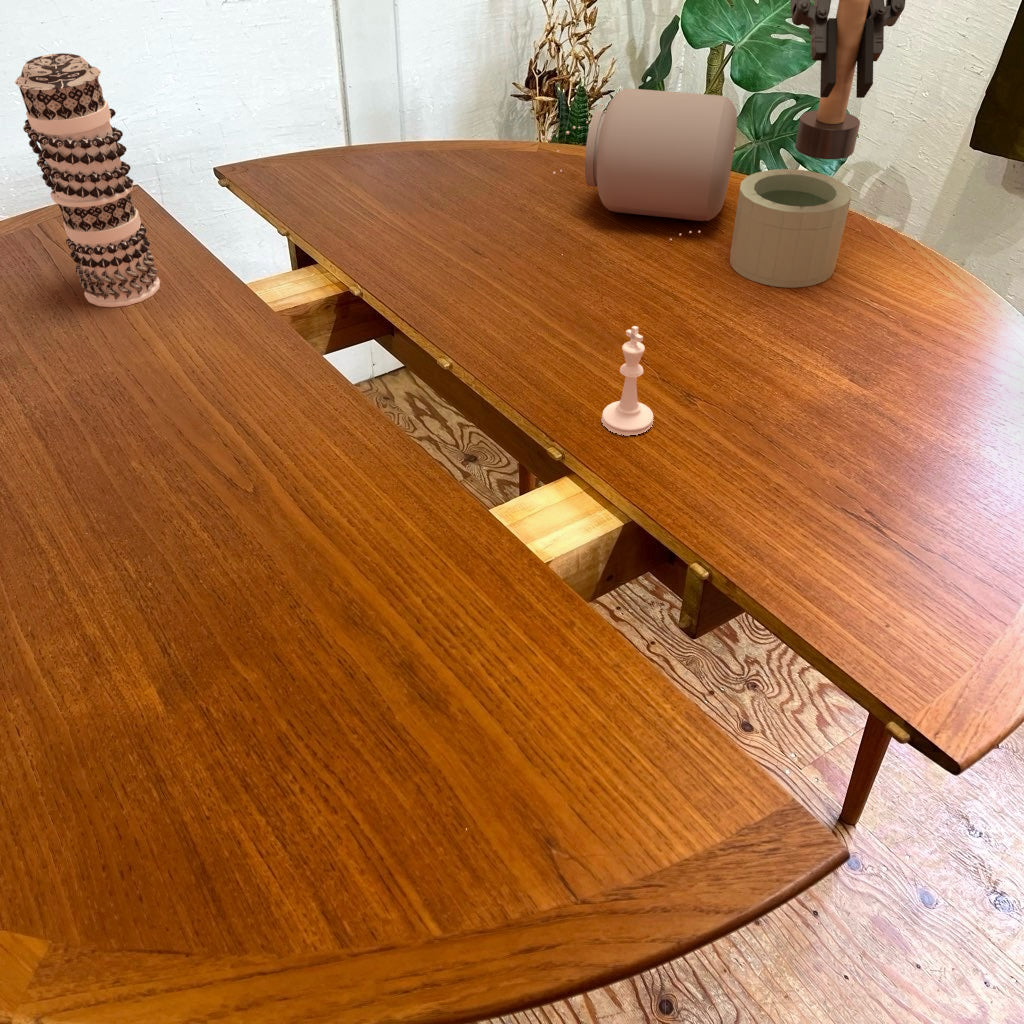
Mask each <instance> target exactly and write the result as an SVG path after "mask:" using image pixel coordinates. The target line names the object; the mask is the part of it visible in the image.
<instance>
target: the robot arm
mask: <svg viewBox="0 0 1024 1024" xmlns="http://www.w3.org/2000/svg"><path fill="white" fill-rule="evenodd" d="M831 5H832V0H813V5H812V4H811V0H790V13H791V22H792V24H793V25H794V26H797V27H798V26H802V25H803V26H805V27H807V28H808V29H807V30H808V33H809V36H810V58H811V60H812V61H815V62H818V61H819V62H820V83H819V84H820V89H819V91H820V92H819V93H820V94H819V98H820V97H828V96H829V95H830V93H831V91H832V89H833V87H834V86H835V84H836V39H837V18H836V17H829V15H830V11H831ZM905 7H906V0H870V2H869V7H868V12H867V16H866V21H865V26H864V30H863V35H862V40H861V44H860V49H859V54H858V58H857V63H856V92H855V93H856V96H855V97H856V99H865V97H866V96H867V94H868V92H869V91H870V90H871V88H872V86H873V85H874V62H877V61H878V60H879V58H880V57H881V55H882V53H883V51H884V46H885V45H884V44H885V43H884V41H885V39H884V37H885V27H893V26H895V25H896V23H897V22H898V20H899V19H900V16H901V15H902V13H903V11H904V10H905Z"/></svg>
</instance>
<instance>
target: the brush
mask: <svg viewBox="0 0 1024 1024" xmlns="http://www.w3.org/2000/svg"><path fill="white" fill-rule="evenodd" d="M869 2H870V0H838V4H837V9H836V14H835V18H837V39H836V84H835V86H834V87H833V89H832V91H831V93H830V95H829V96H828V97H820V96H819V101H818V107H817V109H816V110H810V111H806V112H804V113H803V114H801V115H800V116H799V123H798V127H797V133H796V139H795V145H794V148H795V150H796V151H797V152H798V153H799V154H801V155H804V156H806V157H809V158H812V159H819V160H840V159H845V158H848V157H850V156H852V155H854V152H855V147H856V142H857V139H858V136H859V135H858V134H859V129H860V126H861V121H860V119H859V118H858V117H857V116H855V115H853V114H850V113H848V112H847V109H848V106H849V105H848V104H849V101H850V96H851V91H852V86H853V83H854V77H855V71H856V69H857V58H858V54H859V49H860V44H861V40H862V35H863V30H864V26H865V21H866V16H867V12H868V7H869Z"/></svg>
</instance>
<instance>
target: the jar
mask: <svg viewBox="0 0 1024 1024" xmlns="http://www.w3.org/2000/svg"><path fill="white" fill-rule="evenodd" d="M599 106H600V107H603V103H600V105H599ZM585 123H586V124H589V127H588V132H587V137H586V145H585V155H584V156H585V157H584V176H585V183H586V186H588V187H594V188H595V187H597V193H598V196H599V199H600V201H601V203H602V205H603V206H604V207H605V208H606V209H607V210H608V211H610V212H613V213H620V214H629V215H638V216H649V217H659V218H666V219H667V218H669V219H676V220H686V221H694V222H695V221H696V222H709V221H710V220H712V219H714V218H716V216H717V215H718V214H719V213H720V212H721V211H722V208H723V205H724V203H725V201H726V200H725V199H726V196H727V193H728V188H729V184H730V183H729V182H730V177H731V173H732V165H733V159H734V154H735V145H736V140H737V139H736V138H737V130H738V129H737V128H738V113H737V109H736V106H735V104H734V102H733V101H732V100H731V99H730V98H728V97H727V96H724V95H719V94H705V93H695V92H694V93H693V92H681V91H667V90H654V89H642V88H623V89H622V90H619V91H618V92H617V93H616V94H615V95H613V97H612V98H611V100H610V101H609V103H608V105H607V108H606V109H605V110H603V111H602V110H595V111H594V113H593V114H592V117H591V119H590V123H589V121H588V120H587V121H586V122H585ZM572 129H573V130H576V126H575V125H574V126H572ZM577 129H578V130H580V129H581V126H578V128H577ZM565 133H566V135H570V131H569V130H567V131H566V132H565ZM545 139H546V136H545V135H542V136H541V140H545ZM546 140H547V141H548V142H551V141H552V137H550V136H549V137H547V139H546ZM556 153H560V150H556ZM562 172H563V169H560V170H559V173H562ZM552 175H554V176H555V175H557V172H556V171H553V172H552ZM688 233H689V234H692V233H693V232H692V230H690V231H689V232H688ZM697 233H698V234H701V230H698V231H697ZM678 235H679V236H680V237H681V236H682V233H679V234H678ZM669 241H670V242H672V241H673V238H669Z"/></svg>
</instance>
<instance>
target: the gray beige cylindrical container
mask: <svg viewBox="0 0 1024 1024" xmlns="http://www.w3.org/2000/svg"><path fill="white" fill-rule="evenodd" d="M737 197H738V198H737V204H736V211H735V217H734V225H733V226H734V227H733V232H732V237H731V238H732V239H731V246H730V252H729V264H730V267H731V268H732V269H733V270H734V271H735V272H736V273H737V274H739V276H742V277H743V278H745V279H747V280H749V281H752V282H754V283H758V284H761V285H764V286H770V287H775V288H785V289H787V288H788V289H789V288H790V289H791V288H793V289H795V288H806V287H811V286H815V285H819V284H821V283H824V282H825V281H827V280H829V279H830V278H831V277H832V276H833V274H834V272H835V268H836V266H837V261H838V258H839V254H840V250H841V244H842V239H843V235H844V231H845V227H846V222H847V218H848V213H849V210H850V205H851V201H852V191H851V189H850V188H849V187H848V186H847V185H846V184H845V183H843V182H842V181H840V180H838V179H837V178H835V177H832V176H830V175H827V174H823V173H820V172H815V171H812V170H811V171H810V170H805V169H796V168H795V169H794V168H779V169H778V168H777V169H768V170H762V171H758V172H755V173H752V174H749V175H747V176H746V177H745V178H744V179H743V180H741V182H740V184H739V190H738V196H737Z"/></svg>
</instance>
